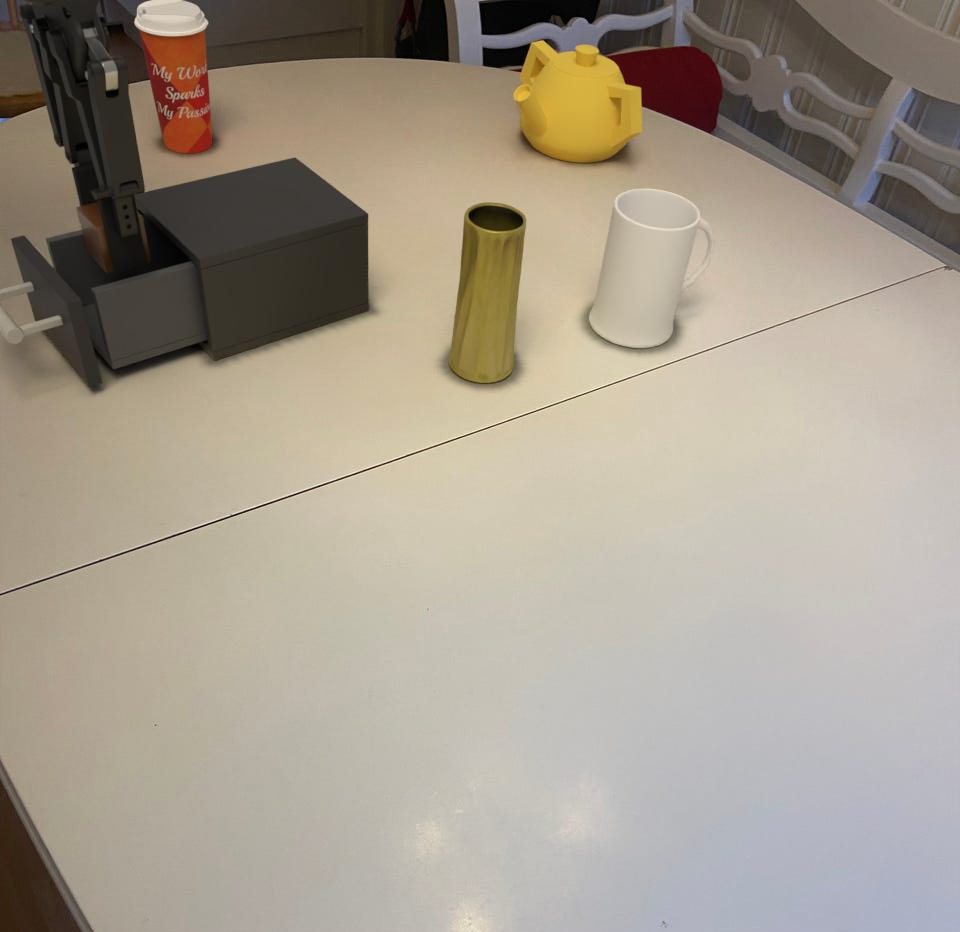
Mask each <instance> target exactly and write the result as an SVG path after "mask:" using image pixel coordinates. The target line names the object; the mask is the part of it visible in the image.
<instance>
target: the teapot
mask: <svg viewBox="0 0 960 932" xmlns="http://www.w3.org/2000/svg"><path fill="white" fill-rule="evenodd" d="M574 48H575V49H574V51H572V50H571V51H564V52H560V53H558V52H557V51H556V50H555V49H554V48H553V47H551V46H550V45H549V44H548V43H547V42H545V40H543V39H542V40H538V41H533V42H531V43H530V45H529V49H528V51H527V55H526V57H525V60H524V63H523V66H522V68H521V72H520V74H519V79H520V81H521V84H522V85H519V86H518V87H517V88H516V89H515V90H514V92H513V100H514V101H515V103H516V105H517V106H518V108H519V110H520V116H519V125H520V128H521V131H522V133H523V135H524V136H525V138H526V140H527V141H528V142H529V144H530V145H531V146H532V147H533V149H535V150H536V151H538V152H539V153H541V154H543V155H545V156H547V157H550V158H552V159H556V160H560V161H565V162H569V163H570V162H571V163H578V164H579V163H583V164H586V163H587V164H588V163H597V162H602V161H605V160H608V159H610V158H612V157H614V156H615V155H616V154H617V153H618V152H619V151H620V150H622V149H623V148H624V147H625V146H626V145H627V144H628V142H629V141H630V140H632V139H633V138H634V137H637V135H640V134H641V133H642V132H643V112H642V111H643V110H642V108H643V107H642V106H643V105H642V87H640V86H636V85H631V84H626V82H625V79H624V75H623V74H622V71H621V70H620V67H619V65H618V64H617V63H616V62H615V61H613V60H612V59H610V58H608V57H607V56H604V55H601V54H599V53H600V50H599V48H598V47H596V46H594V45H591V44H584V43H583V44H579V45H576V46H575V47H574Z"/></svg>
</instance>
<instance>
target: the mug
mask: <svg viewBox="0 0 960 932" xmlns="http://www.w3.org/2000/svg"><path fill="white" fill-rule="evenodd" d="M699 229H700V230H701V231H703V232H704V233H705V235H706V237H707V248H706V249H707V250H706V252H705V255H704V257H703V260H702V262H701V263H700V265H699V266H698V267H697V269H696V270H695V271H694V272H693V273H692V274H691V275H690V276H688V277H687V278H686V279H685V277H686V274H687V271H688V266H689V262H690V258H691V254H692V251H693V248H694V244H695V241H696V240H695V239H696V236H697V232H698V230H699ZM605 241H606V242H605V247H604V252H603V258H602V261H601V266H600V272H599V277H598V281H597V287H596V292H595V297H594V300H593V301H594V302H593V304H592V307H591V309H590V312H589V316H588V321H589V325H590V326H591V328H592V330H593V331H594V332H595V333H596V334H597V335H598V336H600V337H601V338H602V339H604V340H606V341H608V342H609V343H612V344H614V345H618V346H622V347H625V348H633V349H648V348H654V347H658V346H660V345H662V344H664V343H666V342H667V341H668V340H669V339H670V338H671V337H672V335H673V331H674V319H675V315H676V312H677V307H678V304H679V299H680V296H681V293H683V292H686V290H688V289H689V288H690V287H692V286H693V285H695V284H696V282H698V281H699V279H700V278H701V277H702V276H703V275H704V274H705V272H706V271H707V269H708V268H709V265H710V263H711V261H712V258H713V255H714V251H715V245H716V244H715V243H716V242H715V241H716V240H715V234H714V231H713V229H712V227H711V225H710V224H709V223H708V221H707V220H705V219H704V218H702V217H701V211H700V209H699V208H698V206H696V204H695V203H693V202H692V201H691V200H689V199H688V198H686V197H684V196H682V195H680V194H678V193H675V192H671V191H667V190H663V189H658V188H643V187H642V188H633V189H629V190H625V191H623V192H621V193H620V194H618V195H617V196H616V197H615V199H614V201H613V206H612V210H611V216H610V221H609V226H608V231H607V236H606V240H605Z"/></svg>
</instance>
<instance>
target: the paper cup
mask: <svg viewBox="0 0 960 932" xmlns="http://www.w3.org/2000/svg"><path fill="white" fill-rule="evenodd" d="M134 25H135V27H136V28H137V29H138V32H139V36H140V41H141V45H142V51H143V55H144V59H145V65H146V69H147V73H148V74H147V75H148V78H149V82H150V88H151V92H152V96H153V101H154V105H155V110H156V115H157V119H158V124H159V127H160V132H161V137H162V140H163V143H164V146H165V147H166V149H168V150H170V151H172V152H175V153H179V154H196V153H202V152H205V151H207V150H209V149H210V148H211V147H212V145H213V132H212V131H213V129H212V114H211V112H212V111H211V97H210V84H209V83H210V82H209V70H208V56H207V55H208V54H207V42H206V40H207V39H206V28H207V27H208V25H209V20H208V19H207V18H206V17H205V13H204V12H203V11H202V10H201V8H200V7H199V6H198V5H197V4H195V3H192V2H190V1H187V0H148V1H144V2H142V3H140V4H139V5H138V6H137V8H136V17H135V18H134Z"/></svg>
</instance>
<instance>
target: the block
mask: <svg viewBox="0 0 960 932" xmlns="http://www.w3.org/2000/svg"><path fill="white" fill-rule="evenodd" d="M75 210H76V212H77V216H78V220H79V225H80V230H82V233H83V238H84V242H85V246H86V250H87V253H88V254H89V255H90V256H91V257H92V258H93V259H94V260H95V261H96V263H97V264H98V265H99V266H100V267H101V268H102V269H103V270H104V271H105V272H106V273H107V274H108V273H112V272H115V271H114V270H113V266H112V261H111V257H110V252H109V248H108V243H107V239H106V234H105V230H104V226H103V221H102V217H101V212H100V208H99V203H98V202H96V203H92V204H87V205H83V206H80V205H79V206H76V209H75ZM137 213H138V212H137ZM138 218H139V223H140V229H141V234H142V239H143V244H144V249H145V254H146V260H147V263H149V262H151V257H150V252H149V247H148V242H147V236H146V231H145V226H144V220H143V216H141V215H140V214H139V213H138Z"/></svg>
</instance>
